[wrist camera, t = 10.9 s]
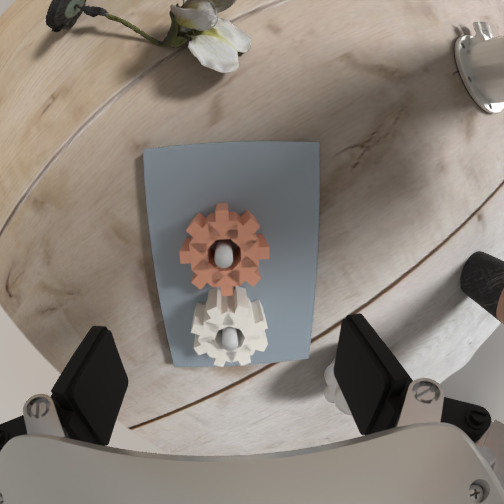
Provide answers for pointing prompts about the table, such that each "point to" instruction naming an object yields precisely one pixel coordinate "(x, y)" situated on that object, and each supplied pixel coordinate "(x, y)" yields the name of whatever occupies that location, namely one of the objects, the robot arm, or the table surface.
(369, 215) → the table surface
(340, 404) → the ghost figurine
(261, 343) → the cream gear
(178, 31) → the artificial flower
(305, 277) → the gear board
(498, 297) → the travel mug
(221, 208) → the terracotta gear
